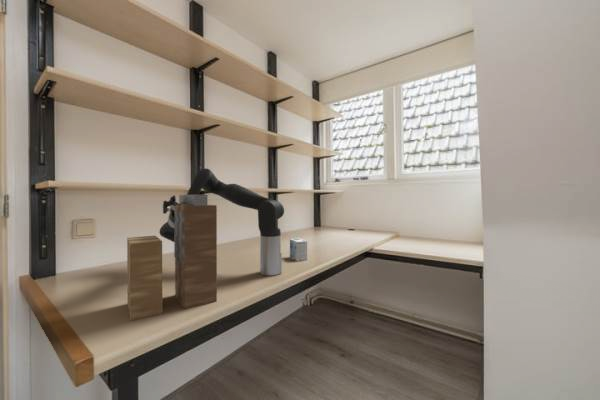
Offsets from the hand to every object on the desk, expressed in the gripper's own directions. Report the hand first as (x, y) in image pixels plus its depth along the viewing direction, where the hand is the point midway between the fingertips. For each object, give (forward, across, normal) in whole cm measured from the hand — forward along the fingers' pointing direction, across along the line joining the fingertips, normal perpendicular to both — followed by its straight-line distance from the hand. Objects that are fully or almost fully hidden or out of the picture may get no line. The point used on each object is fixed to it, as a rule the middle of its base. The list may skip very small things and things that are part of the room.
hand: (186, 197), depth 98 cm
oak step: (-8, -15, +35) cm, 39 cm away
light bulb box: (-29, +62, +23) cm, 73 cm away
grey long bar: (+5, 0, +6) cm, 8 cm away
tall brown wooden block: (-7, 0, +36) cm, 36 cm away
